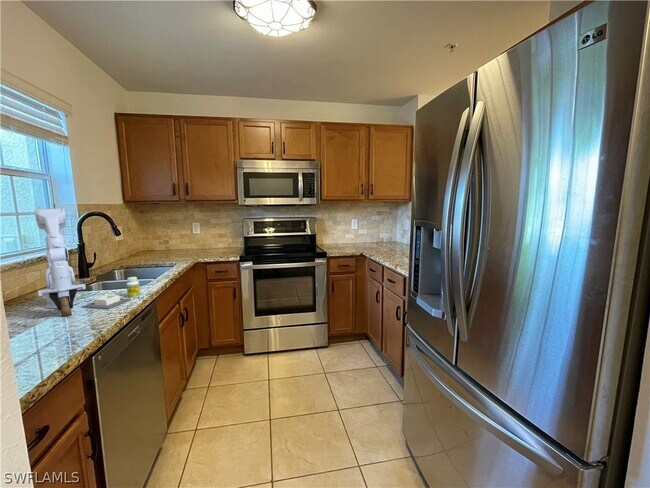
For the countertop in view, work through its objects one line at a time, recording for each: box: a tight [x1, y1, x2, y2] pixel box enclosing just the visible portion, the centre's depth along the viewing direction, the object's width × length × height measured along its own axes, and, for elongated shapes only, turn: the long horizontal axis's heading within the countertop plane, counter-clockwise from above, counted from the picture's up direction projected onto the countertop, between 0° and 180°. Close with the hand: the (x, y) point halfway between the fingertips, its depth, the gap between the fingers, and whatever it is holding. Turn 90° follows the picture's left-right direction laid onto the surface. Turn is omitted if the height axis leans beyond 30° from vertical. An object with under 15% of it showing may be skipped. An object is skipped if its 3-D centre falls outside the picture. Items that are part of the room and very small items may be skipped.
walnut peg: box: [59, 296, 73, 318], centre depth 123 cm, size 3×3×8 cm
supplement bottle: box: [125, 276, 141, 299], centre depth 147 cm, size 5×5×10 cm
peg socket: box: [81, 294, 132, 310], centre depth 137 cm, size 14×12×3 cm
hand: (65, 309), depth 123 cm, fingers closed on walnut peg, 3 cm apart
